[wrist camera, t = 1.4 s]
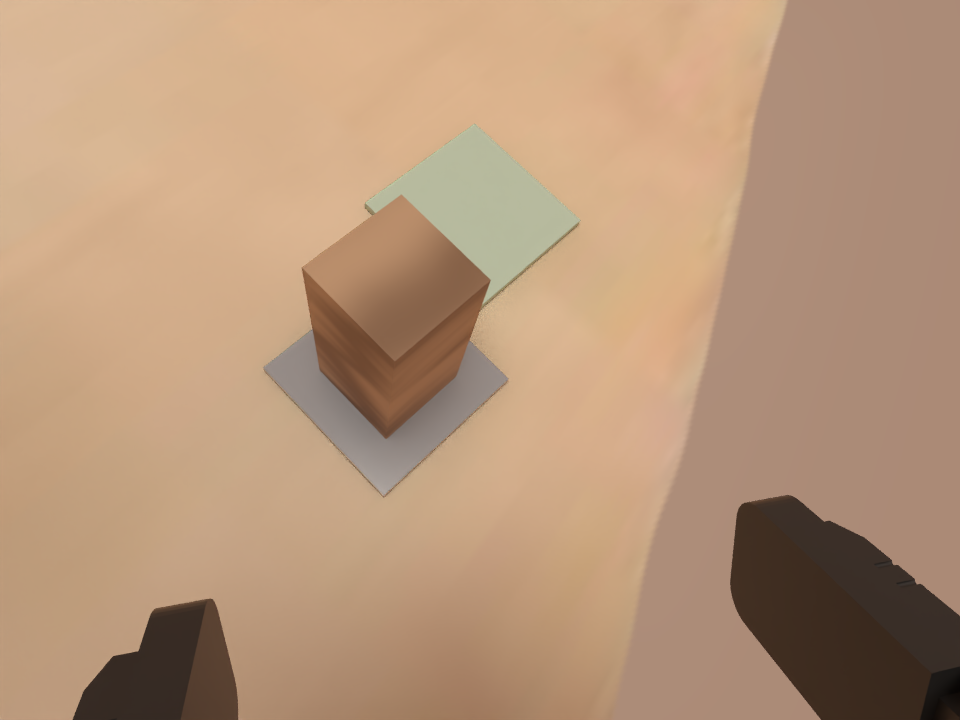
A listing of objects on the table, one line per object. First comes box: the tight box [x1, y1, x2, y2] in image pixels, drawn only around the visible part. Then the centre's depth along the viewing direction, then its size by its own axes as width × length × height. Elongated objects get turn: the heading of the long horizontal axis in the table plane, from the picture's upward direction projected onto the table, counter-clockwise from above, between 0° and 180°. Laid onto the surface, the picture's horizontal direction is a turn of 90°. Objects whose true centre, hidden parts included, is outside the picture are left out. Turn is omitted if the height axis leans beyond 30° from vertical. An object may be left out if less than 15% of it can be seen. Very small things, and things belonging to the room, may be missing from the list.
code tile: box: [263, 329, 508, 497], centre depth 36 cm, size 9×9×1 cm
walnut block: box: [302, 194, 491, 439], centre depth 31 cm, size 5×5×11 cm
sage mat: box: [365, 124, 580, 308], centre depth 41 cm, size 9×9×1 cm
